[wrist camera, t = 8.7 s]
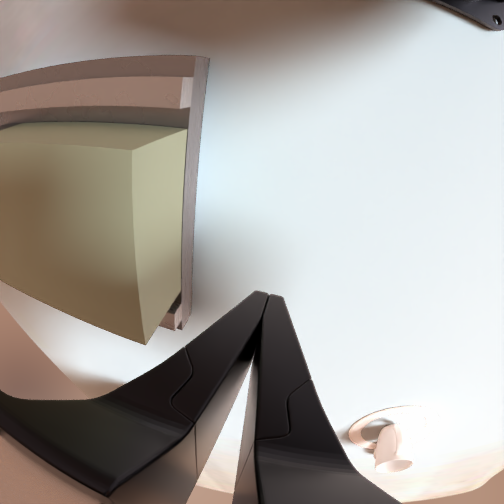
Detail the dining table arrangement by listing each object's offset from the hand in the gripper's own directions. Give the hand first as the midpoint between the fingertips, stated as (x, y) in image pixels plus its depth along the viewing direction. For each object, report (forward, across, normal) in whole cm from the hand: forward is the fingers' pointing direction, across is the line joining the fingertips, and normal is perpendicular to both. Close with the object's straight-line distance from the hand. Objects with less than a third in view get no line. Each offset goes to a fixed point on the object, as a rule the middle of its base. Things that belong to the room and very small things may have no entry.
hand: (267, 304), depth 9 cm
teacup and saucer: (+6, -11, +18) cm, 22 cm away
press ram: (+4, +10, 0) cm, 11 cm away
